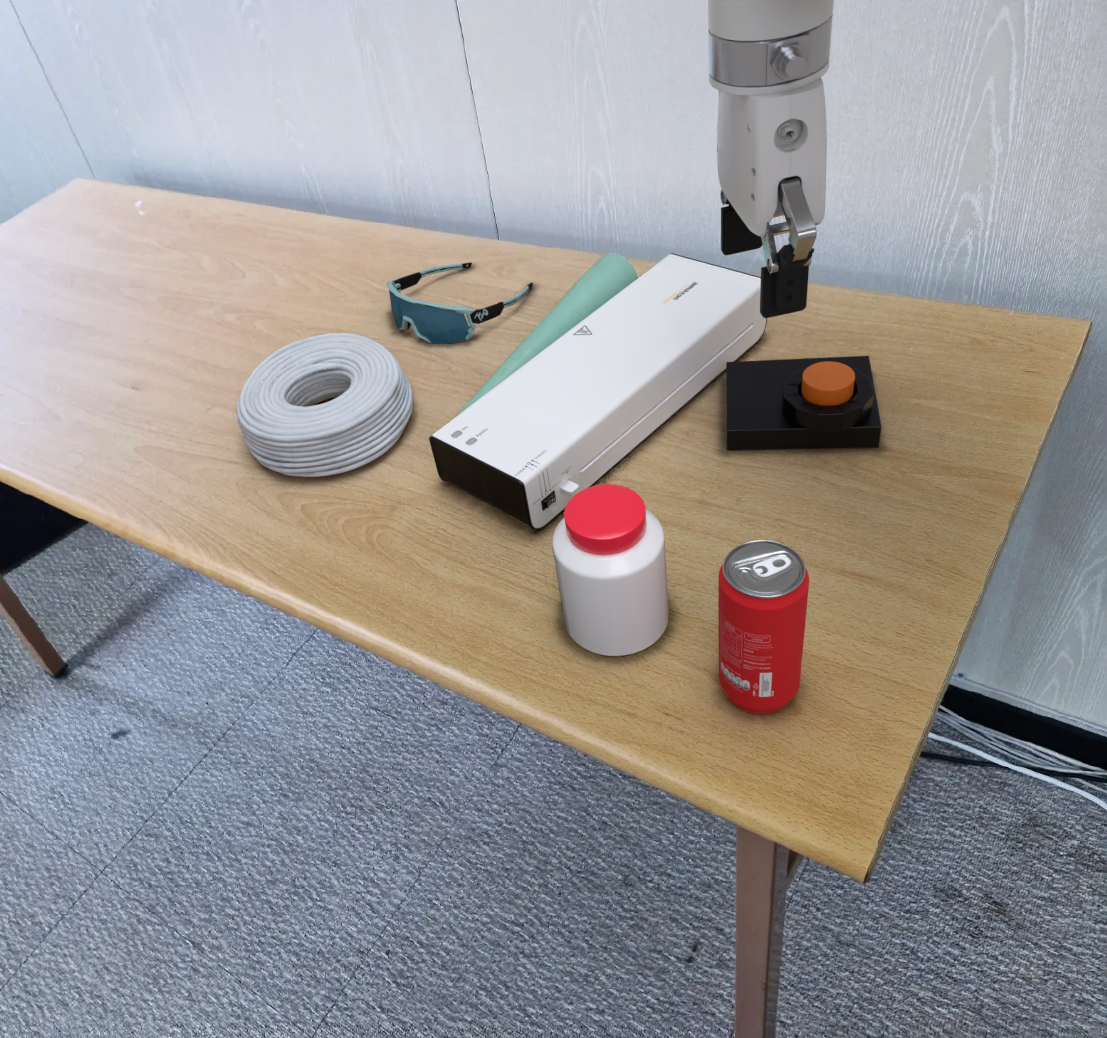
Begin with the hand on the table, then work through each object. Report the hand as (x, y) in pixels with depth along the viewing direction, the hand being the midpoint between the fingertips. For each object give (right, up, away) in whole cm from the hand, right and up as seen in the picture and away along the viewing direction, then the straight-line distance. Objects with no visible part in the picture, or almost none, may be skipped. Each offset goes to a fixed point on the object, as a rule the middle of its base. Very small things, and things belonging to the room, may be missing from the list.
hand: (761, 280), depth 75 cm
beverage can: (-3, -30, -8) cm, 31 cm away
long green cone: (-14, -3, +24) cm, 28 cm away
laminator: (-8, -8, +16) cm, 20 cm away
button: (+8, -8, +6) cm, 13 cm away
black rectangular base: (+7, -9, +11) cm, 16 cm away
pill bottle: (-11, -26, -1) cm, 28 cm away
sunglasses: (-22, +6, +36) cm, 42 cm away
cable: (-35, -9, +24) cm, 43 cm away
